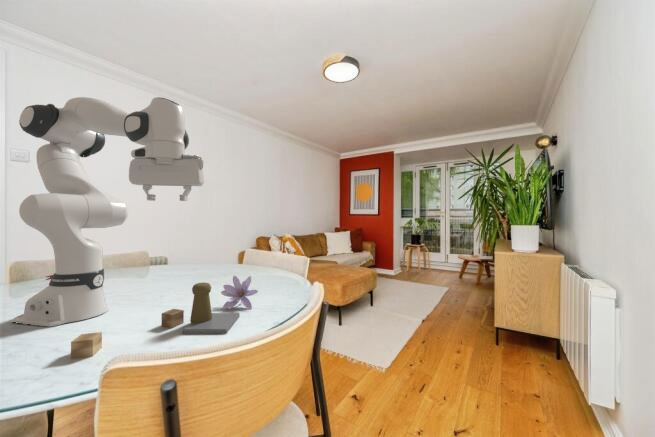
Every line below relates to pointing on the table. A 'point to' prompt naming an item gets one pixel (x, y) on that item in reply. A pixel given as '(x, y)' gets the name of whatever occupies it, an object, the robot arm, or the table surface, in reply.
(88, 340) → the oak block
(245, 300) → the water lily
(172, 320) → the walnut block
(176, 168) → the robot arm
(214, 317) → the coaster
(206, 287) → the cork
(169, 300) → the table surface
